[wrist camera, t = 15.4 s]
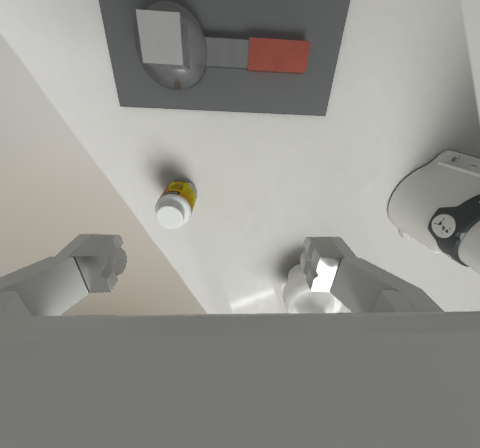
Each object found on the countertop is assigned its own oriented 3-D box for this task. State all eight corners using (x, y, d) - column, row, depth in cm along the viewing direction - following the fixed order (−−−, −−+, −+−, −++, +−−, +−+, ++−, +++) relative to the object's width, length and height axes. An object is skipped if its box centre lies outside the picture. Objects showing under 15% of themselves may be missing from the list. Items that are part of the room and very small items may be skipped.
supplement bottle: (189, 173, 40) (177, 195, 31) (202, 200, 42) (195, 227, 33) (161, 184, 40) (142, 208, 32) (175, 209, 43) (162, 238, 34)
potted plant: (324, 248, 49) (398, 365, 28) (326, 284, 55) (388, 404, 34) (269, 260, 50) (299, 382, 29) (276, 294, 56) (306, 417, 35)
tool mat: (369, -101, 25) (372, -105, 24) (323, 115, 36) (325, 115, 35) (74, -133, 23) (71, -138, 22) (121, 106, 34) (120, 106, 33)
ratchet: (309, 18, 29) (323, 4, 25) (297, 96, 34) (307, 96, 29) (136, 5, 28) (119, -12, 24) (147, 88, 32) (135, 87, 28)
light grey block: (188, 27, 27) (179, 12, 23) (190, 70, 29) (183, 65, 25) (151, 24, 27) (135, 9, 22) (157, 68, 29) (143, 62, 24)
